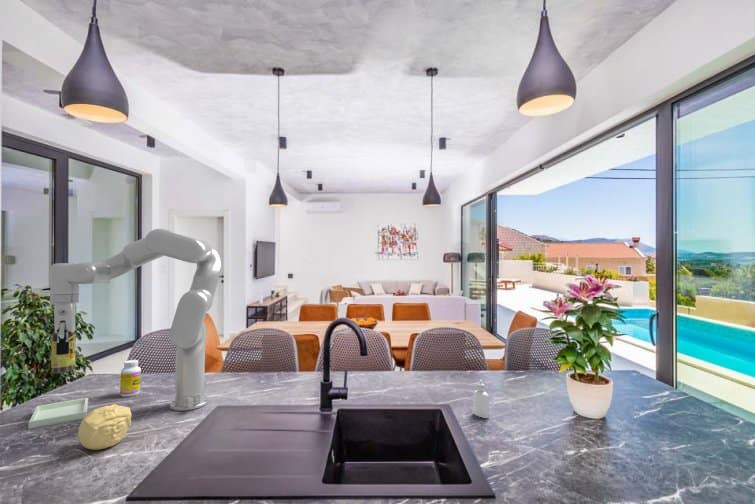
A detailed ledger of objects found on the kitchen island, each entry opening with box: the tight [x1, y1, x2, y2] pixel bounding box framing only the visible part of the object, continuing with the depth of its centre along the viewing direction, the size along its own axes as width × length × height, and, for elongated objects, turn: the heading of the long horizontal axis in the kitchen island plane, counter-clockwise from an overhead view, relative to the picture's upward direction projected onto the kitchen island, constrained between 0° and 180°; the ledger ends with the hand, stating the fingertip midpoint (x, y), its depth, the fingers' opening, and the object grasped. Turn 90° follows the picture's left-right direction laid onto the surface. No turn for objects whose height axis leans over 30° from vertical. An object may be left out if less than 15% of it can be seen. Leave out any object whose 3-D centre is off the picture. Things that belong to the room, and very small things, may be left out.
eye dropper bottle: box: [472, 379, 490, 419], centre depth 128 cm, size 4×6×12 cm
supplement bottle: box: [119, 359, 142, 398], centre depth 147 cm, size 7×7×13 cm
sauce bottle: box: [50, 312, 77, 374], centre depth 127 cm, size 6×6×20 cm
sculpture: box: [77, 403, 132, 451], centre depth 106 cm, size 12×12×11 cm
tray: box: [28, 397, 89, 430], centre depth 126 cm, size 16×14×2 cm
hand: (63, 351), depth 127 cm, fingers closed on sauce bottle, 6 cm apart
